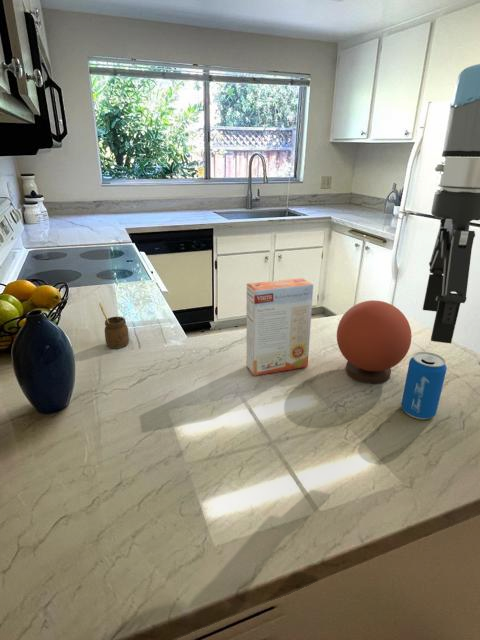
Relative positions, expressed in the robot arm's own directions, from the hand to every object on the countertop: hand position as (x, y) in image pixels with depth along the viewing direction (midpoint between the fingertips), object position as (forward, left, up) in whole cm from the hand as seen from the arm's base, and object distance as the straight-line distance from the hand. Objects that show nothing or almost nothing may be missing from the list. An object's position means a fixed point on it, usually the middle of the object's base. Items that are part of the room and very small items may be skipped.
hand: (435, 324), depth 66 cm
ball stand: (+9, -20, -22) cm, 30 cm away
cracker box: (+30, -16, -22) cm, 40 cm away
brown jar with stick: (+73, -14, -22) cm, 77 cm away
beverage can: (-1, -7, -22) cm, 23 cm away
